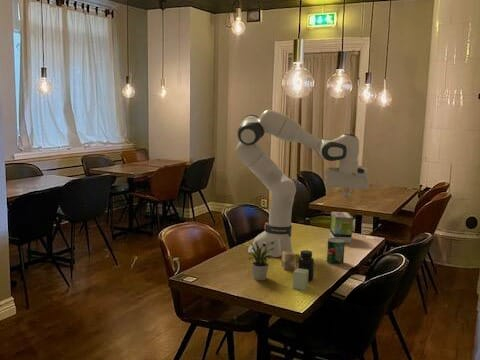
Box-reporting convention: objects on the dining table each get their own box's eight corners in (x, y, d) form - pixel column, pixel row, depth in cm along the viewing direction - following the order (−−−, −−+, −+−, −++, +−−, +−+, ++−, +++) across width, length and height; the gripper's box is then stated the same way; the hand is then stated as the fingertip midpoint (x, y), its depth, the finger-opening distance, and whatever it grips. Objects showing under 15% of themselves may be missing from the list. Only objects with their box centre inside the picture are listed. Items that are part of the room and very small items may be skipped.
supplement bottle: (302, 275, 209) (303, 248, 207) (316, 278, 205) (317, 251, 203) (294, 279, 204) (295, 251, 202) (308, 283, 199) (309, 255, 198)
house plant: (233, 278, 202) (234, 240, 200) (250, 269, 213) (252, 234, 211) (262, 286, 194) (264, 247, 192) (279, 276, 206) (280, 240, 203)
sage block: (292, 288, 193) (293, 271, 192) (295, 284, 198) (296, 268, 197) (304, 290, 191) (305, 273, 190) (307, 286, 196) (308, 269, 195)
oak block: (284, 269, 215) (285, 254, 214) (281, 266, 220) (282, 251, 219) (295, 269, 216) (295, 254, 215) (292, 265, 221) (292, 251, 220)
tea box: (351, 243, 262) (353, 217, 259) (333, 243, 262) (335, 216, 260) (346, 236, 276) (348, 211, 274) (329, 236, 277) (330, 210, 275)
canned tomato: (346, 263, 228) (348, 240, 226) (337, 266, 222) (338, 243, 221) (332, 258, 233) (334, 237, 232) (323, 262, 228) (324, 239, 226)
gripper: (325, 167, 227) (323, 196, 229) (370, 170, 222) (367, 199, 224) (326, 166, 233) (325, 194, 235) (370, 169, 228) (368, 197, 230)
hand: (346, 197), depth 229 cm, fingers closed
